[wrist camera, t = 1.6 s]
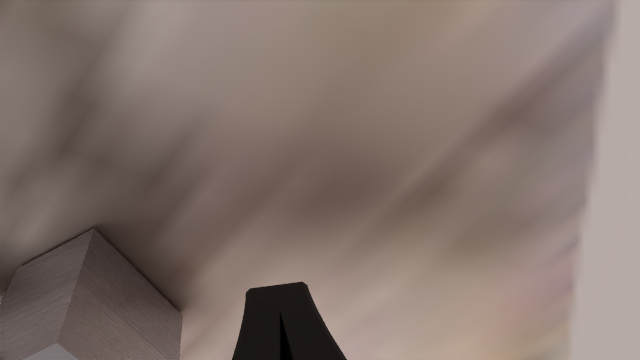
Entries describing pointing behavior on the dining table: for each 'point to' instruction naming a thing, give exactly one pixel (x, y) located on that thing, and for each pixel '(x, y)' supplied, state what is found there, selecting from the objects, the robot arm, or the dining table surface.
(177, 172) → the dining table surface
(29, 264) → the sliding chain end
